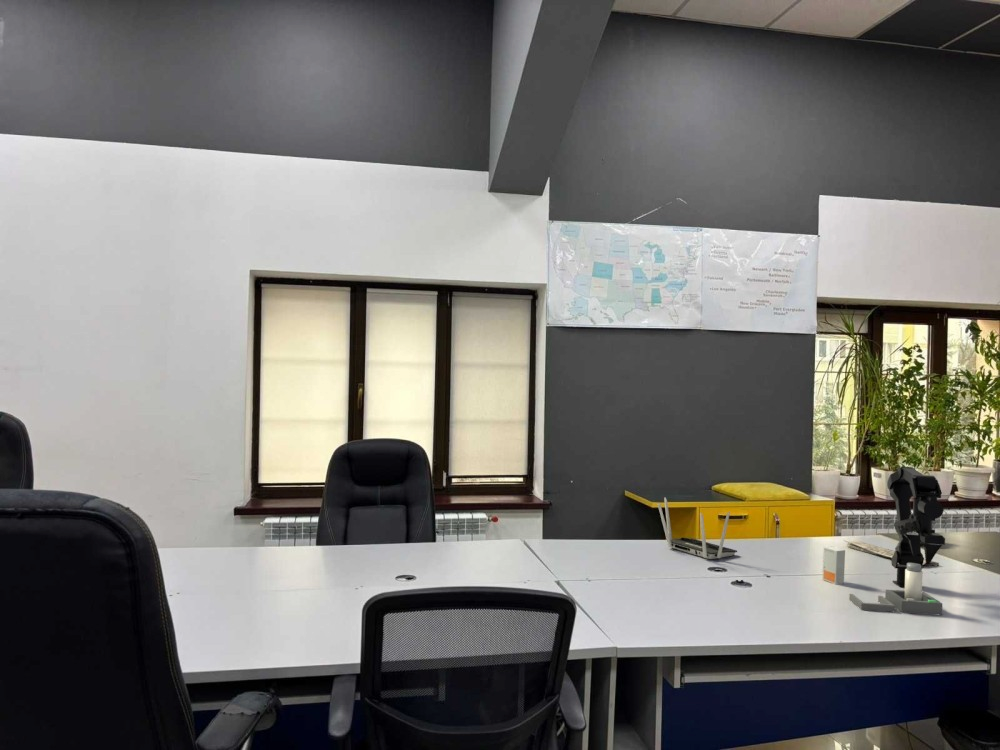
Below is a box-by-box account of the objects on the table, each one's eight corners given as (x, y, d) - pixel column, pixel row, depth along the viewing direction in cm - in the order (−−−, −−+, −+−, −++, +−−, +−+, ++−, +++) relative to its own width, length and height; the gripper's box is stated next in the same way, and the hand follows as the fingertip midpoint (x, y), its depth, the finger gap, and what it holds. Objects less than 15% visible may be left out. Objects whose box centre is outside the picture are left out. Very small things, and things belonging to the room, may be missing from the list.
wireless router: (749, 559, 285) (751, 508, 285) (710, 566, 273) (712, 513, 272) (684, 540, 313) (685, 495, 313) (646, 546, 301) (647, 498, 300)
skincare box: (821, 579, 259) (823, 546, 259) (830, 578, 261) (831, 545, 261) (835, 584, 254) (837, 550, 254) (844, 583, 255) (845, 550, 255)
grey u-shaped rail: (849, 599, 237) (849, 593, 237) (881, 601, 236) (881, 595, 236) (861, 609, 227) (861, 603, 227) (894, 611, 226) (894, 605, 226)
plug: (900, 602, 233) (901, 562, 233) (913, 602, 234) (914, 562, 234) (912, 607, 228) (913, 566, 228) (925, 606, 229) (926, 565, 229)
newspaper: (938, 567, 285) (939, 558, 285) (918, 570, 280) (918, 560, 279) (860, 546, 317) (860, 538, 317) (840, 548, 311) (840, 540, 311)
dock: (885, 600, 237) (885, 587, 237) (923, 602, 236) (924, 590, 236) (901, 612, 225) (901, 599, 225) (942, 615, 224) (942, 601, 224)
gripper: (885, 506, 251) (884, 551, 251) (910, 517, 232) (908, 565, 232) (919, 508, 250) (917, 553, 250) (946, 518, 231) (945, 567, 231)
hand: (921, 559), depth 241 cm, fingers open, 9 cm apart
